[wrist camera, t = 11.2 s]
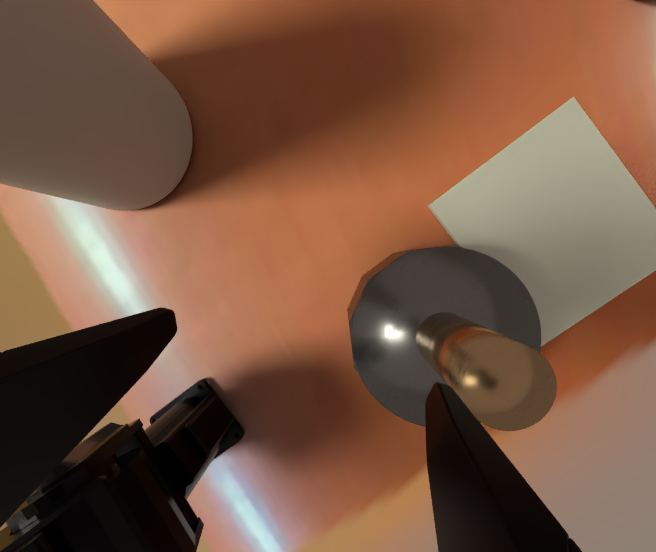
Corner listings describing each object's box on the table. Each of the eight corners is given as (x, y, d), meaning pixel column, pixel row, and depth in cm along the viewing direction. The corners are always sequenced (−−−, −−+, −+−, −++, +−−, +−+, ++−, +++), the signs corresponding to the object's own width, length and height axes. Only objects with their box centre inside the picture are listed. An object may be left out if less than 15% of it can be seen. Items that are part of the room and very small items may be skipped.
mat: (533, 347, 20) (537, 349, 20) (427, 205, 20) (429, 204, 20) (679, 250, 19) (686, 249, 19) (568, 100, 19) (573, 96, 19)
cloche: (402, 413, 21) (471, 581, 10) (321, 305, 21) (299, 353, 10) (519, 335, 20) (736, 424, 9) (434, 222, 20) (550, 171, 9)
